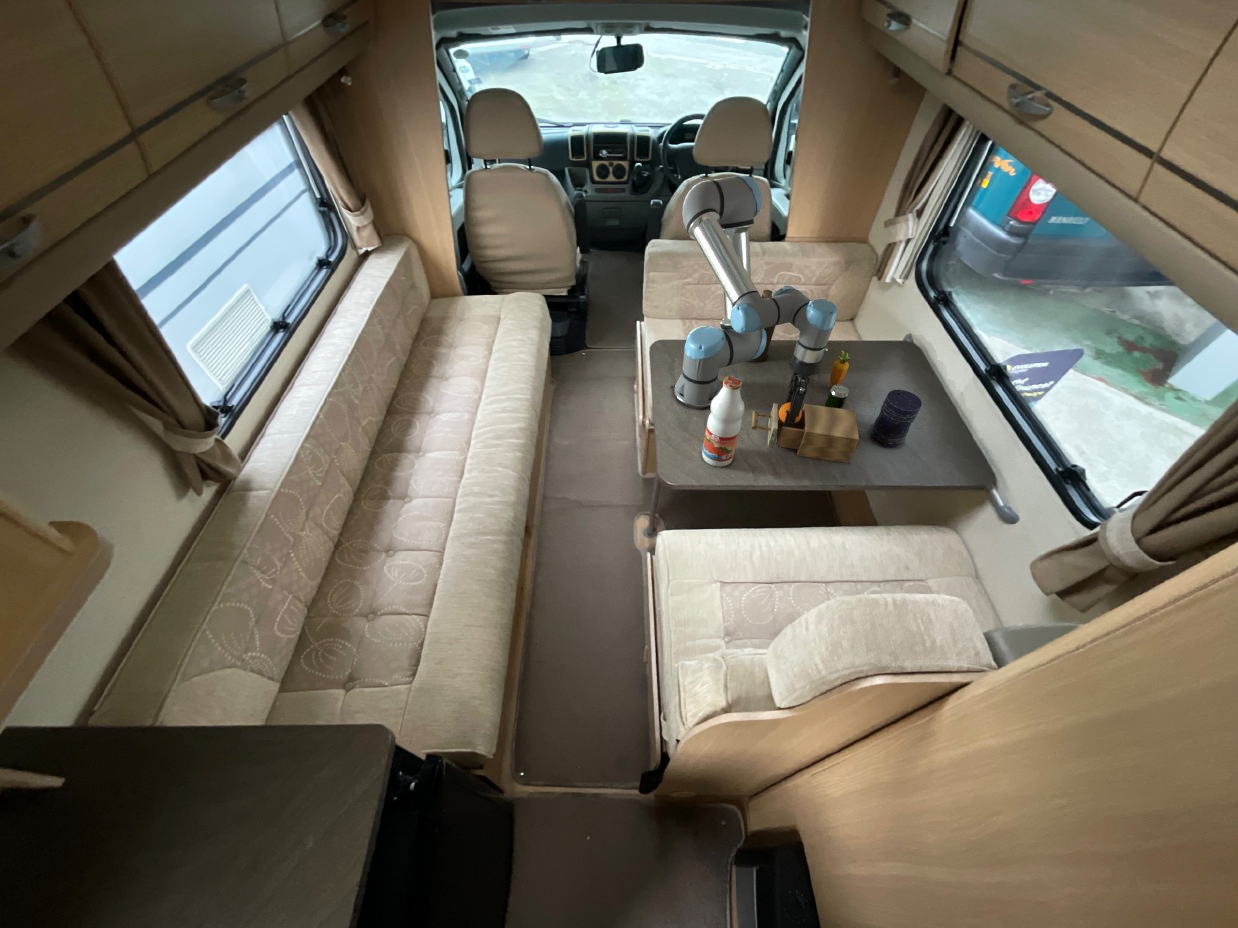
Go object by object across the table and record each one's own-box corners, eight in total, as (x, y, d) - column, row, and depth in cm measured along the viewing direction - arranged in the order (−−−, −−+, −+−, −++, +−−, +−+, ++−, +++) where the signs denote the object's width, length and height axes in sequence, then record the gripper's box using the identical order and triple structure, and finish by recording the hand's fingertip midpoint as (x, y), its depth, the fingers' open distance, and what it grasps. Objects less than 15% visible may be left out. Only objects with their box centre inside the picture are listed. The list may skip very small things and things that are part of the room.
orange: (776, 427, 165) (781, 410, 160) (776, 413, 170) (781, 396, 165) (799, 430, 164) (804, 413, 160) (798, 416, 169) (804, 399, 164)
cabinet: (797, 455, 167) (805, 431, 160) (796, 427, 176) (804, 403, 169) (848, 463, 165) (859, 439, 158) (844, 434, 174) (854, 410, 167)
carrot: (841, 394, 188) (855, 357, 177) (826, 394, 188) (840, 357, 177) (837, 385, 191) (851, 348, 181) (823, 385, 191) (836, 348, 181)
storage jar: (908, 446, 171) (929, 408, 160) (880, 450, 169) (898, 412, 159) (891, 424, 178) (909, 387, 167) (863, 428, 176) (880, 391, 165)
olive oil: (751, 366, 198) (766, 302, 180) (732, 351, 205) (745, 288, 187) (774, 357, 202) (790, 294, 184) (754, 343, 209) (769, 281, 191)
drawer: (748, 444, 169) (753, 425, 163) (749, 419, 177) (754, 400, 171) (813, 454, 166) (821, 434, 160) (812, 428, 174) (819, 409, 168)
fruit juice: (739, 455, 166) (757, 380, 146) (721, 472, 161) (738, 396, 141) (713, 440, 171) (728, 365, 151) (695, 456, 166) (707, 381, 146)
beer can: (819, 422, 178) (830, 393, 169) (820, 412, 181) (831, 382, 173) (837, 426, 177) (849, 396, 168) (837, 415, 180) (849, 386, 172)
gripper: (823, 380, 143) (800, 444, 160) (820, 338, 156) (799, 402, 173) (794, 376, 144) (774, 440, 161) (792, 335, 157) (774, 398, 174)
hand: (787, 420), depth 167 cm, fingers closed on orange, 6 cm apart
